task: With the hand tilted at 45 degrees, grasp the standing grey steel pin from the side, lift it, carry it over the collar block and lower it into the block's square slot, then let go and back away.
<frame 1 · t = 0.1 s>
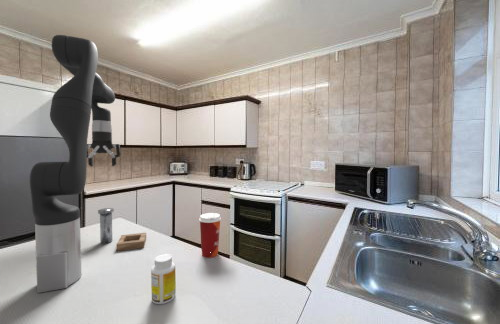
hand: (102, 166, 100), 29 cm above the countertop, tool pointing down, fingers open, 8 cm apart
collar block: (132, 244, 84), on the countertop
paper cup: (210, 254, 77), on the countertop
supplement bottle: (163, 298, 54), on the countertop
pin: (106, 241, 86), on the countertop
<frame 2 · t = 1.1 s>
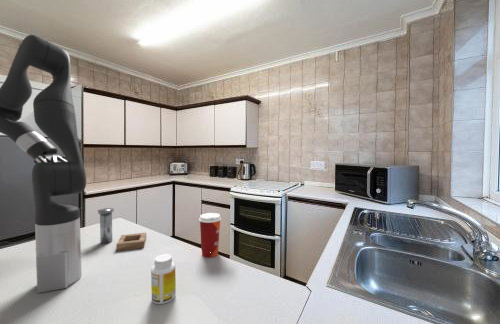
hand: (72, 177, 83), 26 cm above the countertop, tool tilted 45°, fingers open, 8 cm apart
nothing on the countertop moved.
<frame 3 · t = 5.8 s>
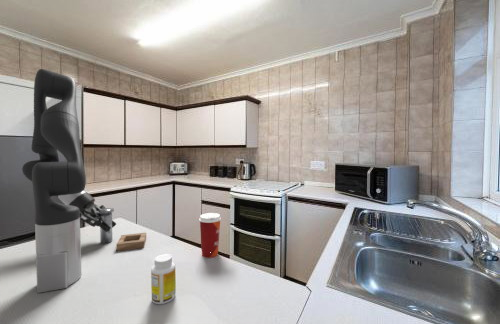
hand: (111, 227, 86), 6 cm above the countertop, tool tilted 45°, fingers closed on pin, 4 cm apart
pin: (106, 241, 86), on the countertop, touching gripper
everything else where it was.
when the fingers open (7 cm above the countertop, at t = 10.9 s): pin drops 1 cm, resting in collar block.
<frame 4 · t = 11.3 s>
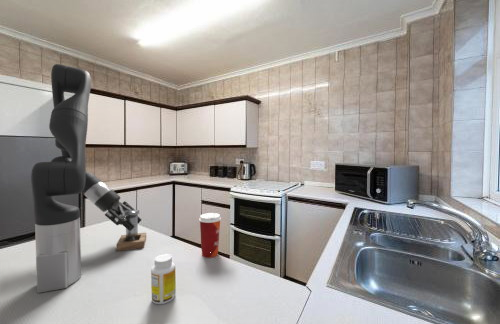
hand: (136, 225, 84), 8 cm above the countertop, tool tilted 45°, fingers open, 7 cm apart
pin: (132, 244, 84), resting in collar block
everything else where it was.
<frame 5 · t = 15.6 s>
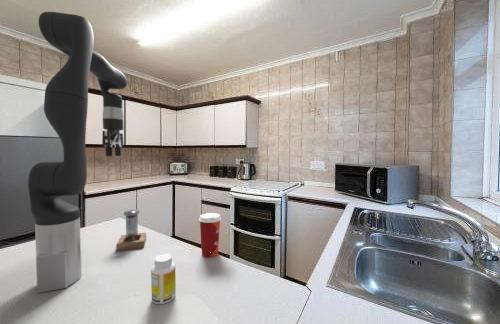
hand: (113, 156, 94), 34 cm above the countertop, tool pointing down, fingers open, 8 cm apart
nothing on the countertop moved.
at the end: pin 0.1 cm off-centre on the collar block, point 0.0 cm above the collar block's base; pin tilted 0°; the gripper is holding nothing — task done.
